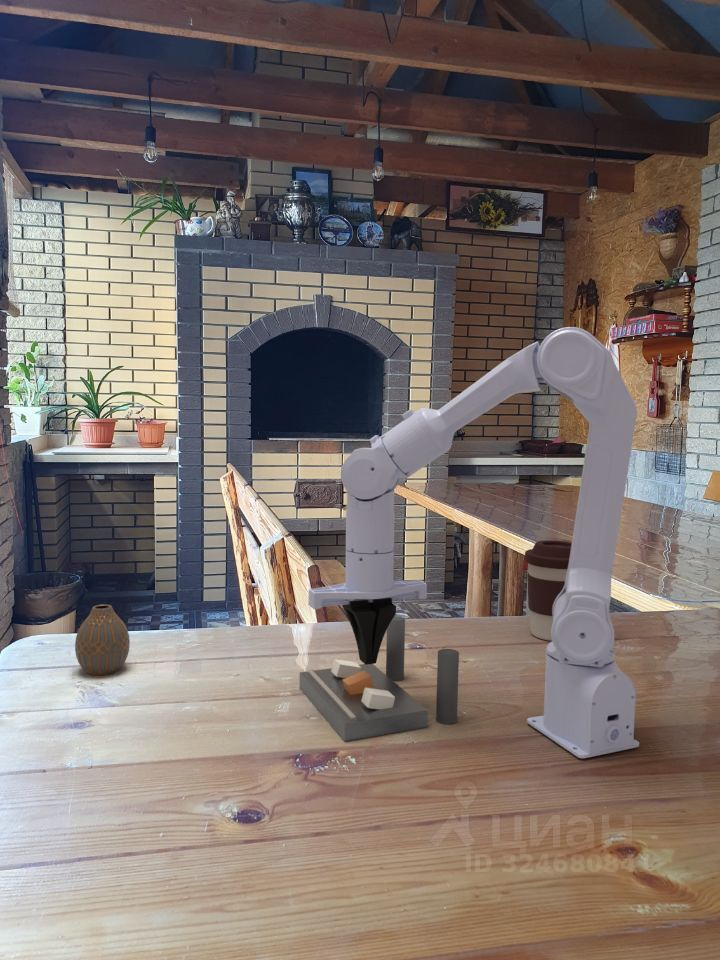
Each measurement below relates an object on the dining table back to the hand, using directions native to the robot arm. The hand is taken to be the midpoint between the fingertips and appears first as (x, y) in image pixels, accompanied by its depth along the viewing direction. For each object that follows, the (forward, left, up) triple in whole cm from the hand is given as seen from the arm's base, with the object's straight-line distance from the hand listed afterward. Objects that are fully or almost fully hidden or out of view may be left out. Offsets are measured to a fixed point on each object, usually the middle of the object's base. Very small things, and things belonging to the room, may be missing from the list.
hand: (367, 661), depth 85 cm
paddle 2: (-5, +1, -3) cm, 6 cm away
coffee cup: (+15, -39, -6) cm, 42 cm away
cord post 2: (-7, -7, -5) cm, 11 cm away
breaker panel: (0, +1, -5) cm, 5 cm away
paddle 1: (+5, +1, -3) cm, 6 cm away
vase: (+23, +29, -6) cm, 37 cm away
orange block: (0, +1, -3) cm, 4 cm away
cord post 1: (+7, -7, -5) cm, 11 cm away
